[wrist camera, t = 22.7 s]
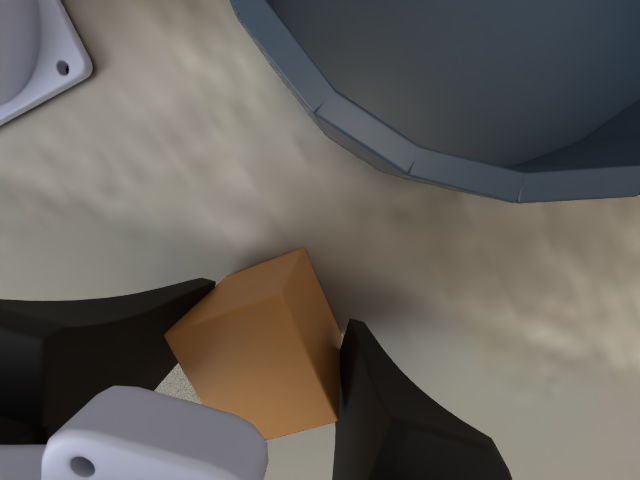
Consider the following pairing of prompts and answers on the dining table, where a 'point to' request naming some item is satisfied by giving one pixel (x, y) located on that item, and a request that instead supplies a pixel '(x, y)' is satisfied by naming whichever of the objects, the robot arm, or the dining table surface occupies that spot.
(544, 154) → the pot
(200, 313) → the wooden brick
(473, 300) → the dining table surface
